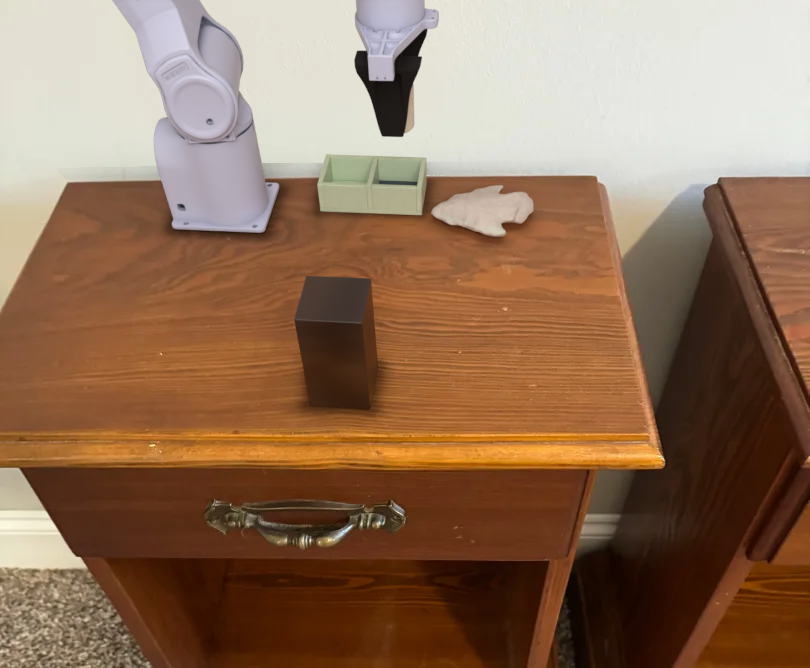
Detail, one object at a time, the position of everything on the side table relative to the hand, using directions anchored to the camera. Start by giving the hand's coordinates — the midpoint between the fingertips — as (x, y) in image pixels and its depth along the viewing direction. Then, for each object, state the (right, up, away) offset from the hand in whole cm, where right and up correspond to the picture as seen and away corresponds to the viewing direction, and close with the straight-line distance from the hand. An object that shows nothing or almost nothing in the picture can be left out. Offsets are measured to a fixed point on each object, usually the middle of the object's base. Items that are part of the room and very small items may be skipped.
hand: (395, 123), depth 73 cm
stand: (-4, -26, -8) cm, 28 cm away
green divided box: (-2, -4, +7) cm, 8 cm away
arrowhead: (+9, -7, +4) cm, 12 cm away
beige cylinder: (0, 0, 0) cm, 0 cm away
